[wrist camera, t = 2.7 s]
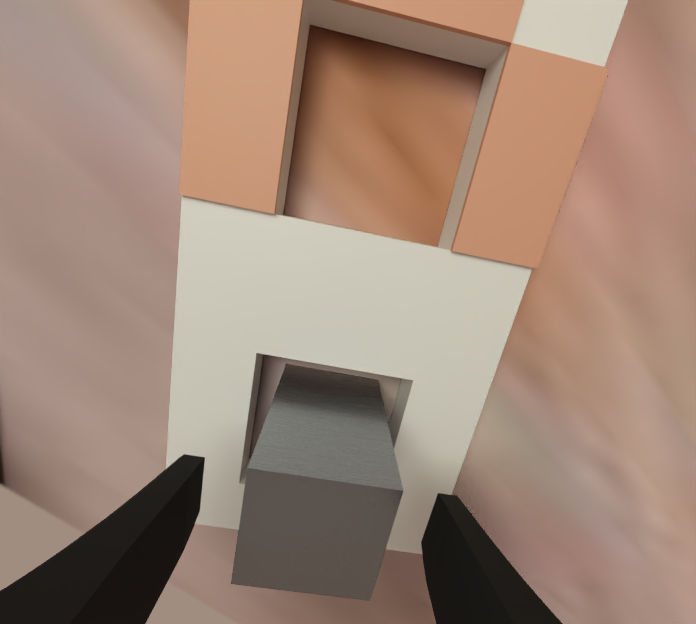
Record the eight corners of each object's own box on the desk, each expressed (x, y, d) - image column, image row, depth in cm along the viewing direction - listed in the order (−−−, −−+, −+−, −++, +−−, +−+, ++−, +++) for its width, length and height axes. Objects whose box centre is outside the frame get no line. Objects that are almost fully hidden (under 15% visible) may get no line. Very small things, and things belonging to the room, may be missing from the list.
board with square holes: (179, 491, 15) (160, 523, 14) (223, -101, 10) (199, -167, 8) (427, 526, 16) (437, 560, 15) (606, 5, 10) (655, -34, 9)
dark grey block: (273, 442, 15) (230, 583, 9) (286, 363, 14) (247, 468, 8) (358, 455, 15) (369, 600, 9) (377, 379, 14) (403, 491, 8)
